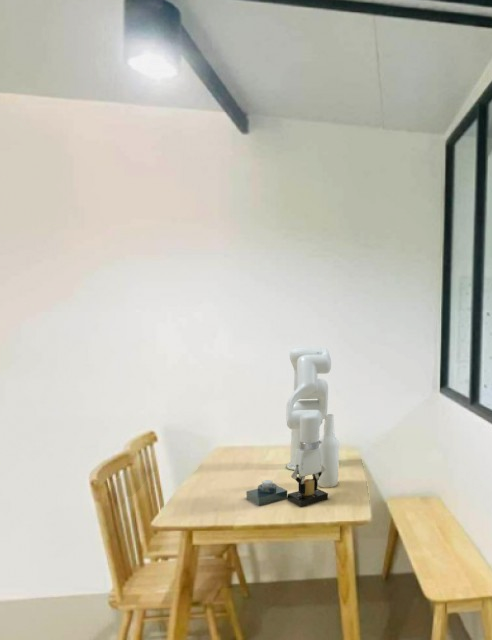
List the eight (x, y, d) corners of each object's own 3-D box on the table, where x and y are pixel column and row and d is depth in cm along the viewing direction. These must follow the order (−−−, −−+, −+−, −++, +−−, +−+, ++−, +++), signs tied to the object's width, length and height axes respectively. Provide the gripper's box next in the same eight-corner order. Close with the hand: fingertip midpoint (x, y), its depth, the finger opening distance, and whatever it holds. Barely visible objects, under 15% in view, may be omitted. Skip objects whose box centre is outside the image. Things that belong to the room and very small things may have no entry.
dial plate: (313, 493, 206) (314, 486, 206) (327, 499, 199) (328, 492, 199) (287, 500, 197) (287, 493, 197) (301, 507, 190) (301, 500, 190)
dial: (309, 490, 202) (310, 477, 202) (316, 493, 198) (316, 480, 198) (299, 493, 198) (299, 479, 198) (305, 496, 195) (306, 482, 195)
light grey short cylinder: (269, 484, 201) (269, 479, 201) (274, 487, 199) (274, 481, 199) (260, 486, 199) (260, 481, 199) (264, 489, 196) (265, 484, 196)
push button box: (274, 491, 206) (274, 479, 206) (287, 498, 199) (287, 485, 200) (246, 498, 198) (246, 486, 198) (258, 506, 191) (258, 492, 191)
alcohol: (337, 487, 213) (339, 416, 213) (316, 488, 212) (318, 417, 212) (338, 480, 222) (340, 412, 222) (317, 481, 220) (319, 413, 221)
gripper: (322, 440, 207) (321, 484, 207) (284, 447, 195) (283, 494, 195) (332, 443, 202) (331, 489, 202) (295, 451, 190) (293, 499, 190)
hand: (308, 491), depth 198 cm, fingers closed on dial, 4 cm apart
